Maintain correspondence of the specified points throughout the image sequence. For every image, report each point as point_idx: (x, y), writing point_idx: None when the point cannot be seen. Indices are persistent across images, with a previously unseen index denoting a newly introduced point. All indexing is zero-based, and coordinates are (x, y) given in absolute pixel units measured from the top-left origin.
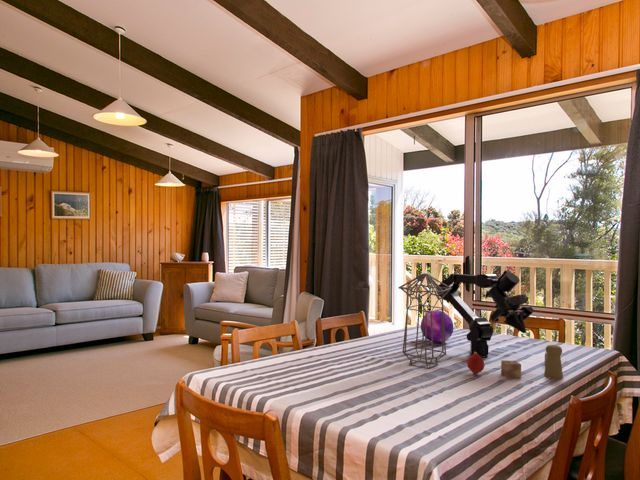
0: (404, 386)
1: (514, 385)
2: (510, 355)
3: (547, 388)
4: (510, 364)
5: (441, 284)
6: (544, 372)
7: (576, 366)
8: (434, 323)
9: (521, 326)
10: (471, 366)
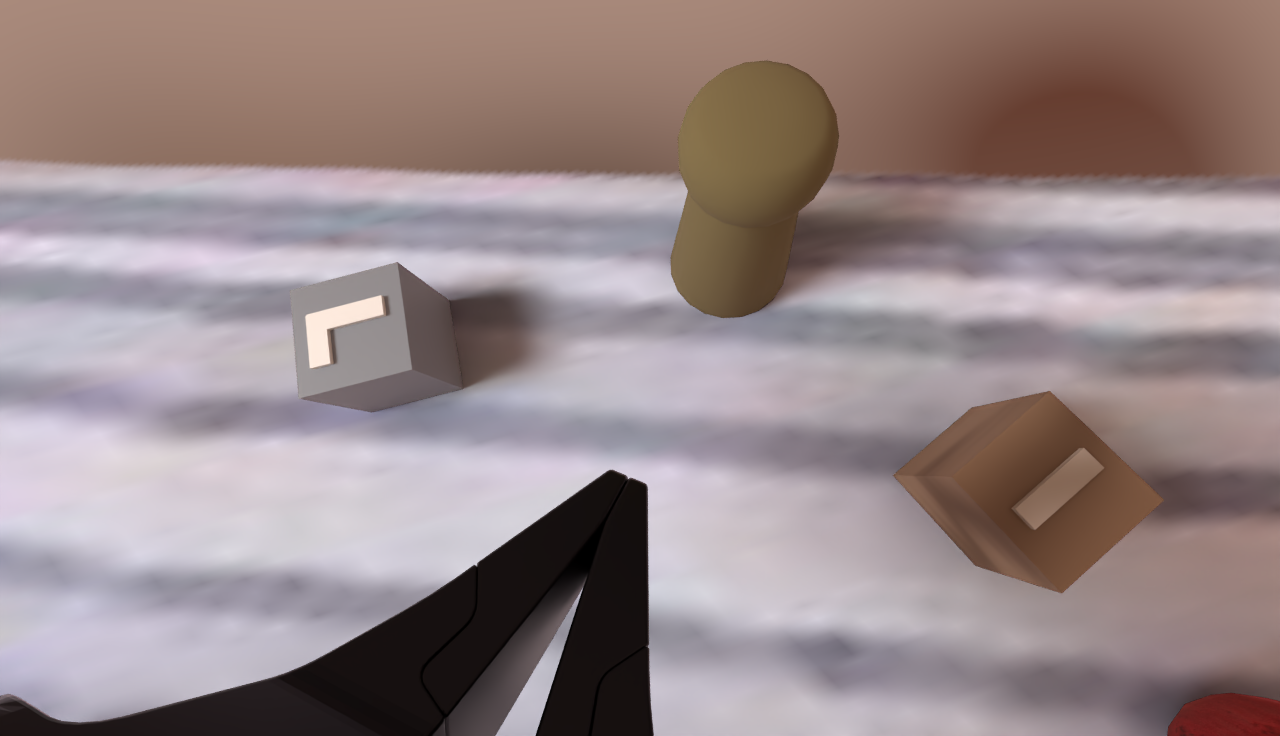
0: None
1: (1197, 383)
2: None
3: (1062, 210)
4: (1127, 469)
5: None
6: (743, 308)
7: (333, 230)
8: None
9: (647, 569)
10: None
